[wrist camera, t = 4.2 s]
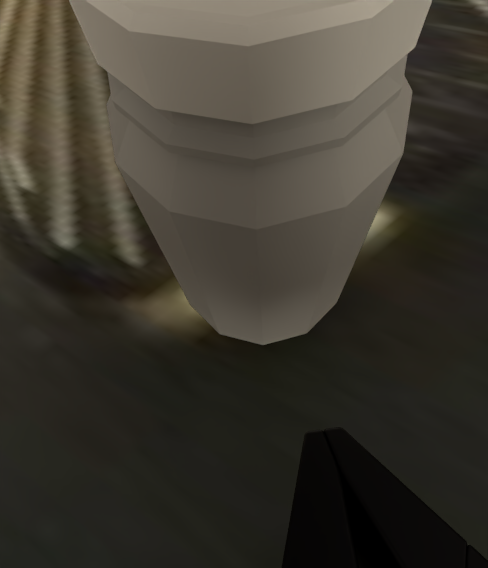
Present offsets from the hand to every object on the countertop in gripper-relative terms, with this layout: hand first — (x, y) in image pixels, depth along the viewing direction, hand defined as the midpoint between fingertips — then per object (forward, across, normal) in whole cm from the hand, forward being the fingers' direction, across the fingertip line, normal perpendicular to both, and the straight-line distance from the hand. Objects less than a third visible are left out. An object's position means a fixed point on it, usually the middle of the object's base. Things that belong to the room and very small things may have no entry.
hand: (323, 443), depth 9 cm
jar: (+16, 0, +2) cm, 16 cm away
